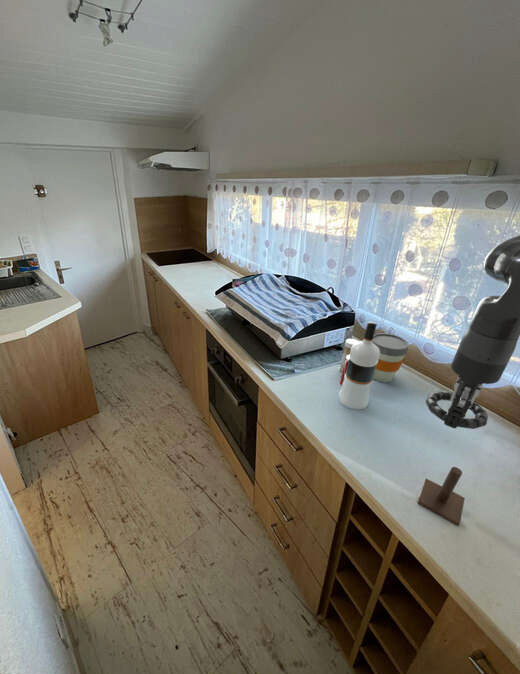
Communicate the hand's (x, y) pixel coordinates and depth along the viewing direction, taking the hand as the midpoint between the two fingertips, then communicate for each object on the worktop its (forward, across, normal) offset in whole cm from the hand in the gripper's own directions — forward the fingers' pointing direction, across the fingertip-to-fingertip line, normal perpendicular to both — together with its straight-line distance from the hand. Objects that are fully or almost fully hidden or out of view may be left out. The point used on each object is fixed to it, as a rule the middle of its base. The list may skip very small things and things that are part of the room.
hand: (451, 422), depth 65 cm
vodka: (+22, +21, +25) cm, 39 cm away
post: (+22, -1, -4) cm, 23 cm away
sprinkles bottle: (+22, +38, +34) cm, 56 cm away
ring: (-1, +4, 0) cm, 5 cm away
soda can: (+22, +29, +30) cm, 47 cm away
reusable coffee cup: (+22, +44, +24) cm, 55 cm away
